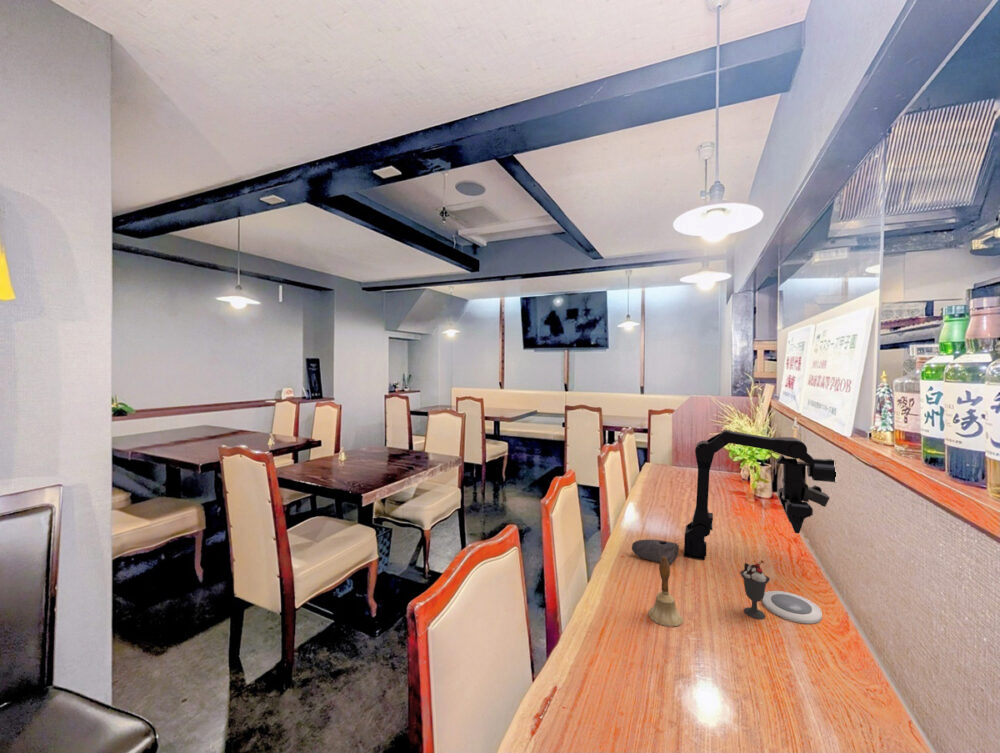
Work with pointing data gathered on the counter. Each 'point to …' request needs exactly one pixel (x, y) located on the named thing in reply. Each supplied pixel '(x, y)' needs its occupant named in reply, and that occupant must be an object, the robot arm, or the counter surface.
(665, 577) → the hand bell
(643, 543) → the perforated stone tool
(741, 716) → the counter surface
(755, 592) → the sundae
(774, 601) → the serving plate
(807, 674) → the counter surface
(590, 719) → the counter surface
